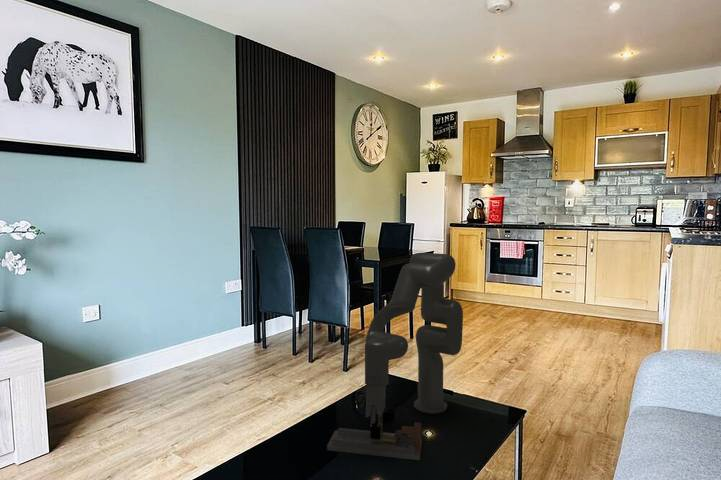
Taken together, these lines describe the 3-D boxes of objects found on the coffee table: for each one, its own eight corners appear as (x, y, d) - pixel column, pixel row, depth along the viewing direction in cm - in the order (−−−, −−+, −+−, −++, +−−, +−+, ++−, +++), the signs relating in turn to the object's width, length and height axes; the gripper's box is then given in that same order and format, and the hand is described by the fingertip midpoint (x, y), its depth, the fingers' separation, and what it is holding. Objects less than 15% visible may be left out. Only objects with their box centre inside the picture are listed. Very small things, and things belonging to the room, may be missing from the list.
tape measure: (395, 421, 158) (395, 411, 158) (377, 424, 156) (377, 413, 156) (388, 413, 164) (388, 403, 164) (371, 415, 162) (371, 406, 162)
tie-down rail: (335, 434, 148) (335, 410, 148) (421, 443, 142) (421, 417, 142) (327, 450, 138) (326, 423, 138) (419, 460, 133) (419, 433, 132)
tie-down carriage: (373, 437, 143) (373, 416, 142) (408, 441, 140) (408, 419, 140) (370, 445, 138) (370, 423, 138) (407, 449, 136) (407, 427, 135)
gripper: (369, 368, 148) (370, 421, 149) (359, 387, 132) (359, 446, 133) (392, 369, 146) (392, 423, 147) (384, 389, 130) (384, 449, 131)
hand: (376, 433), depth 140 cm, fingers closed on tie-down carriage, 4 cm apart
